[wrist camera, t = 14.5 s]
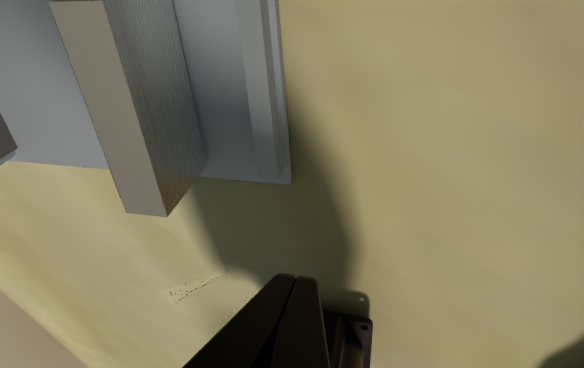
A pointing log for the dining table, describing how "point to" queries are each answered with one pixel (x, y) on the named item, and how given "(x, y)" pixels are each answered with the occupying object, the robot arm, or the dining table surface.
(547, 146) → the dining table surface
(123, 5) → the block
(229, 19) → the vise body
